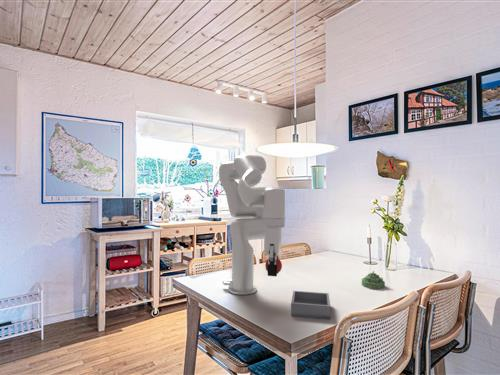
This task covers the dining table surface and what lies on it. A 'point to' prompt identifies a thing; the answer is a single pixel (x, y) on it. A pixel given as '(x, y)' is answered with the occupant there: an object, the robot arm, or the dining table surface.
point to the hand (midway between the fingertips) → (273, 272)
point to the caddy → (310, 305)
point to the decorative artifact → (373, 281)
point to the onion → (278, 263)
